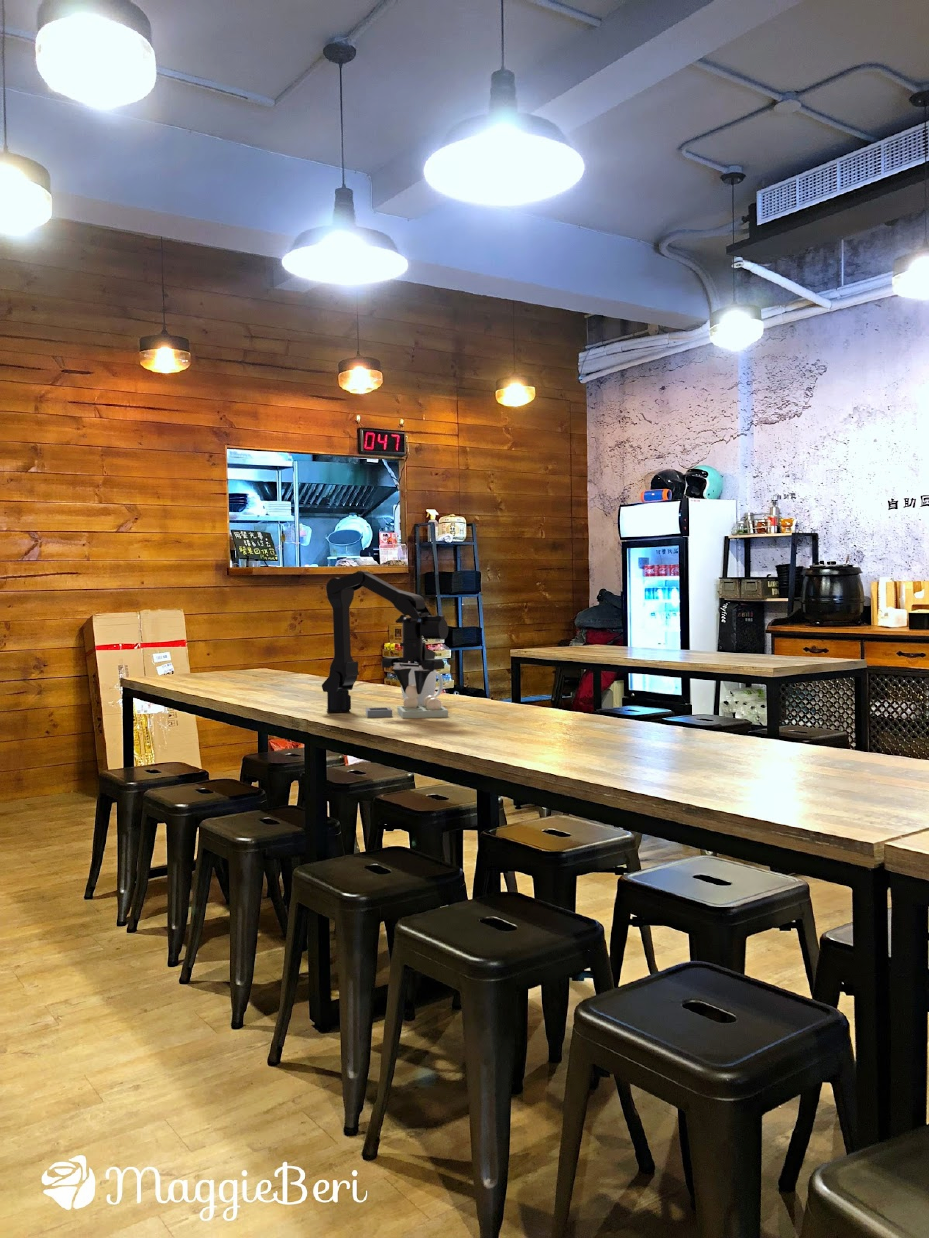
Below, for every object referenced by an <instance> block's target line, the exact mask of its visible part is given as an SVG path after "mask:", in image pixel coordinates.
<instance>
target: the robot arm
mask: <svg viewBox="0 0 929 1238" xmlns="http://www.w3.org/2000/svg"><path fill="white" fill-rule="evenodd" d="M363 587H364V588H365V589H367V590H369V591H371V592H373V593H374V594H376V595H378V596H380V597H381V598H383V599H385V600H387V601H388V602H390V603H391V604H392V605H393V607H394V609H396V610H397V611H398V612H400V616H399V617H398V618H397V619H395V623H396V624H401V625H402V626H401V627H402V630H401V631H402V633H401V634H402V635H401V636H402V639H401V640H402V642H399V647H402V656H389V657H388V656H387V657H383V658H382V660H381V668H383V669H384V668H385V669H391V672H394V675H395V676H396V678H397V680H398V682H399V683H400V687H401V686H402V688H403V690H404V692H405V691H406V688H407V686H409V673H410V670H411V668H407V666H411V667H419V670H415V671H414V674H415V682H416V689H417V694H421V692H422V689H423V686H424V683H425V680H426V678H427V676H428V675H429V673H430V672H433V671H434V670H436V671H437V670H444V669H445V662H444V660H443V658H436V652H435V651H434V650H431V649H430V648H427V644H426V642H425V641H423V638H424V639H425V640H438V641H439V640H443V641H444V640H446V639H447V637H448V636H449V635H448V634H449V625H448V623H447V622H448V621H447V620H446V618H445V615H433V614H432V613H431V611H430V610H429V608H428V607H427V605H426V602H425V598H424V597H423V596H421V595H420V594H416V593H412V592H410V591H405V590H402V589H399V588H398V587H396V586H394V585H392V584H390V583H388V582H387V581H385V580H383V579H381V578H379V577H377V576H376V575H374V574H372V573H371V572H370V571H368V570H357V571H355V572H354V573H350V574H347V575H343V576H341V577H333V578H330V579H329V580H328V581H327V583H326V585H325V592H326V597H327V601H328V603H329V604H330V606H331V608H332V624H333V625H332V626H333V627H332V629H333V654H334V655H333V656H334V657H333V659H332V661H331V663H330V666H329V672H328V677H327V678H326V679H325V681H324V682H323V683H322V684H321V688H322V691H323V692H325V693H326V694H327V695H326V699H327V700H326V706H327V708H326V712H327V713H331V714H332V713H333V714H334V713H350V711H351V710H352V702H351V701H352V697H351V695H350V692H349V691H352V690H353V688H354V684H355V683H356V682H357V680H358V676H360V672H359V661H354V659H353V657H352V649H351V647H352V646H351V622H350V620H351V619H350V617H351V616H350V606H351V605H352V602H353V600H354V595H355V592H357V591H358V590H360V589H362V588H363Z"/></svg>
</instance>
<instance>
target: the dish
mask: <svg viewBox="0 0 929 1238" xmlns="http://www.w3.org/2000/svg"><path fill="white" fill-rule="evenodd" d="M365 715H366V717H367V718H393V709H392V708H391V707H389V706H387V707H385V706H384V707H382V706H381V707H365Z"/></svg>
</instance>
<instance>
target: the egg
mask: <svg viewBox="0 0 929 1238" xmlns="http://www.w3.org/2000/svg"><path fill="white" fill-rule="evenodd" d="M405 693H406V695H407V697H408V698H410V699H415V698H417V697H418V696H419V695H420V694H417V689H416V685H415V684H411V685H409V686H407V688H406V691H405Z"/></svg>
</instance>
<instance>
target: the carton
mask: <svg viewBox="0 0 929 1238" xmlns="http://www.w3.org/2000/svg"><path fill="white" fill-rule="evenodd" d="M402 704H403V705H399V706H398V705H397V706H396V707H397V709H396V711H397V714H398V715H399V716H400V717H401V718H402V719H423V718H424V719H425V718H428V719H429V718H449V710H448V709H447V707H445V706H443V705H442V701H441V700H440V699H439V698H438V697H435V696H432V695H430V696H427V697H426V698H425V700H424V705H421V706H417V705H418V701H417V699H416V698H415V699H410V698H408V697H406V698H405V699H403V703H402Z"/></svg>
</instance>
